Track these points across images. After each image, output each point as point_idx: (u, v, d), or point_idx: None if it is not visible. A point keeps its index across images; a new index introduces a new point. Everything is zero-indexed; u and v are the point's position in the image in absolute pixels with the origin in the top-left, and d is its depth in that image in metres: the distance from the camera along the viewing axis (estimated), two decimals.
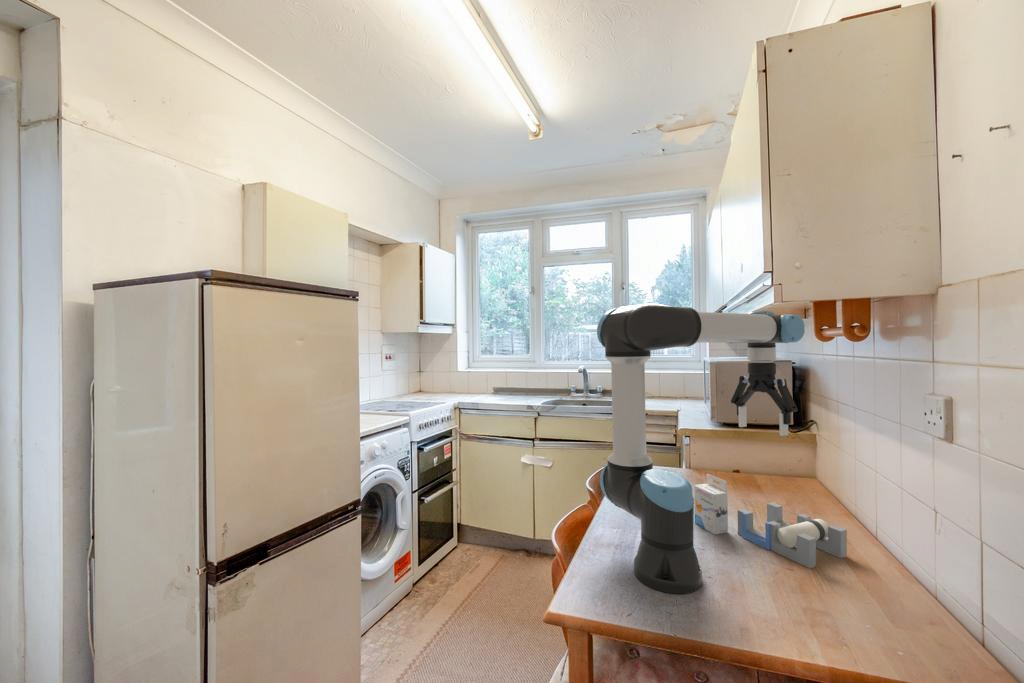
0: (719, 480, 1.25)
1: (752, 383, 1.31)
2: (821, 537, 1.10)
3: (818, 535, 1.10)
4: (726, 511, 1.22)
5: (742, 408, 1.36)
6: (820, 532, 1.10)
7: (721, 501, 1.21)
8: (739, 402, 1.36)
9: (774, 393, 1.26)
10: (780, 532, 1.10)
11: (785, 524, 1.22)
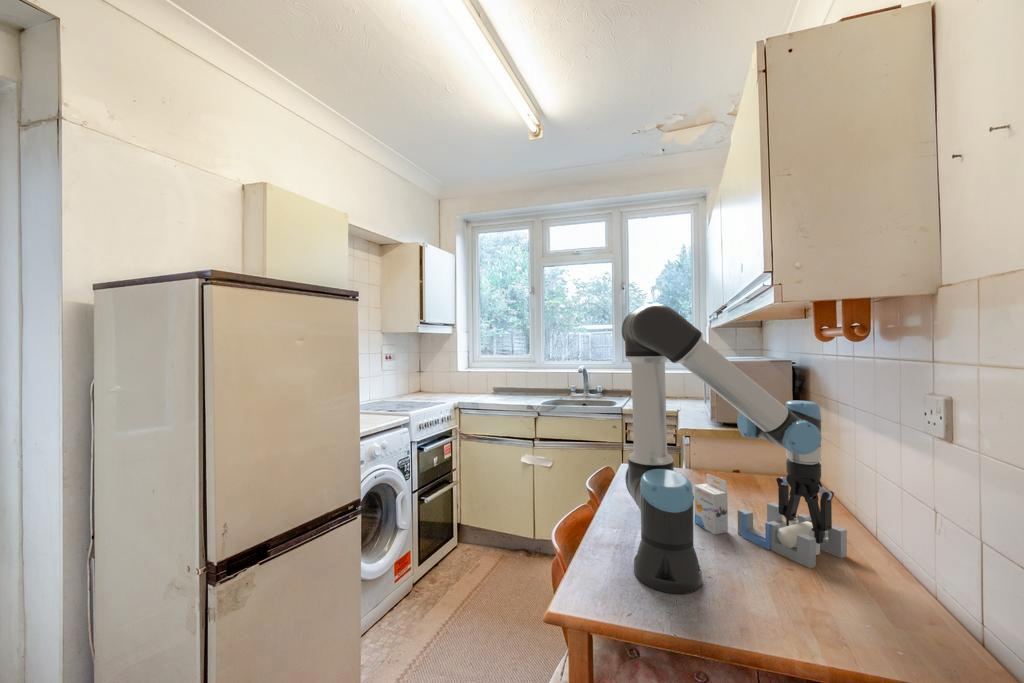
0: (719, 480, 1.25)
1: (793, 486, 1.12)
2: None
3: None
4: (726, 511, 1.22)
5: (793, 523, 1.13)
6: None
7: (721, 501, 1.21)
8: (788, 514, 1.14)
9: (813, 504, 1.08)
10: (780, 532, 1.10)
11: (785, 524, 1.22)
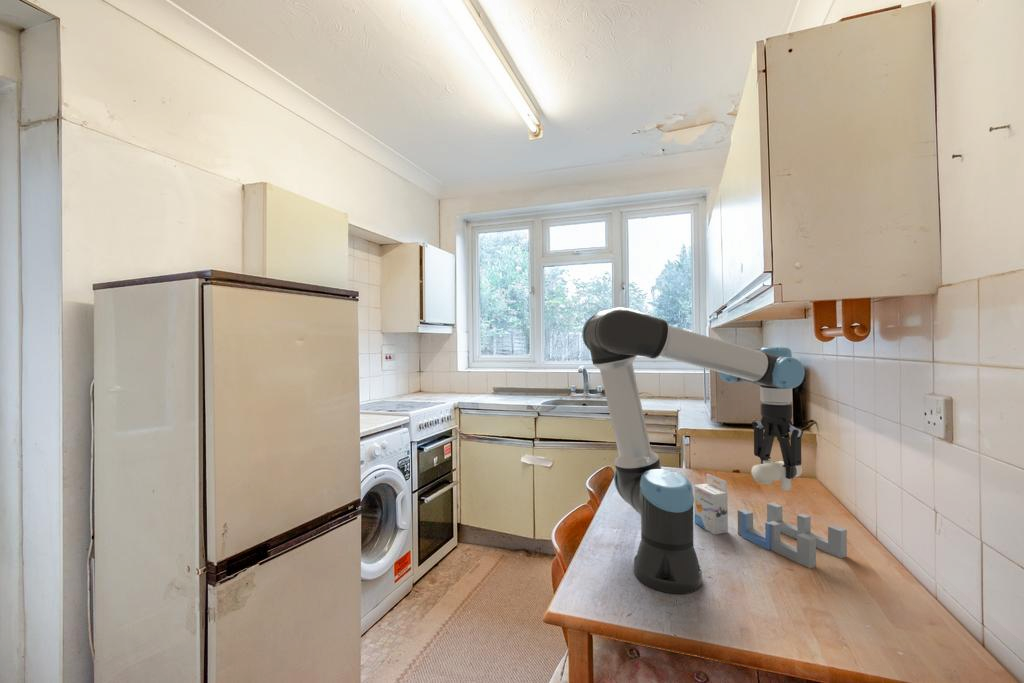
0: (719, 480, 1.25)
1: (766, 427, 1.19)
2: (793, 474, 1.17)
3: None
4: (726, 511, 1.22)
5: None
6: None
7: (721, 501, 1.21)
8: (762, 454, 1.20)
9: (784, 442, 1.15)
10: (754, 469, 1.17)
11: (785, 524, 1.22)
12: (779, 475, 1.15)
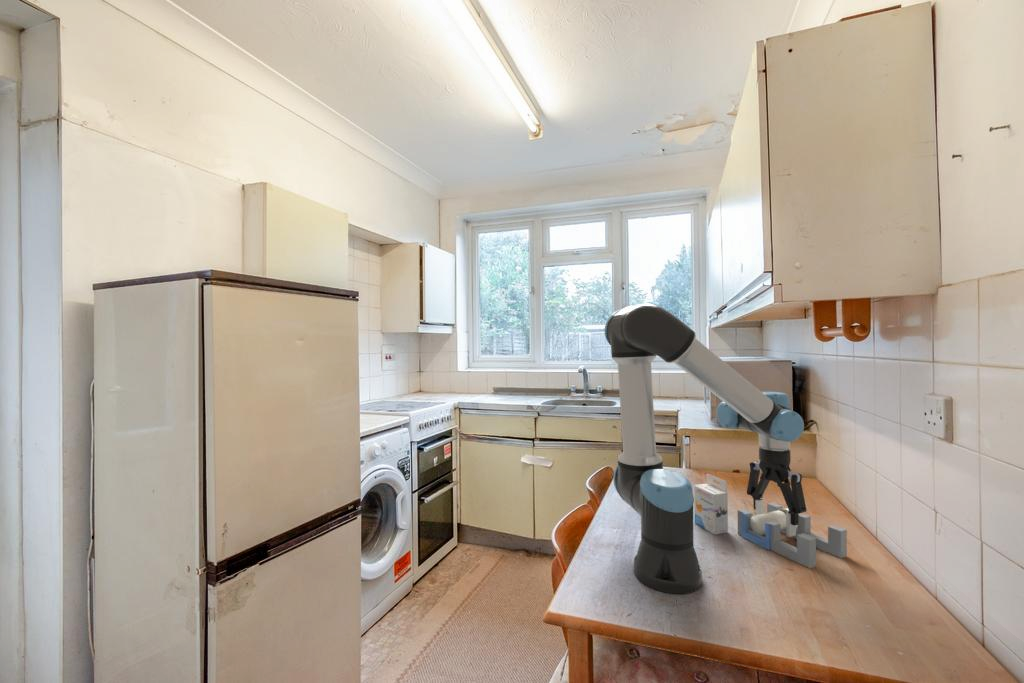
0: (719, 480, 1.25)
1: (764, 471, 1.19)
2: None
3: None
4: (726, 511, 1.22)
5: (759, 502, 1.22)
6: None
7: (721, 501, 1.21)
8: (755, 494, 1.23)
9: (785, 487, 1.15)
10: (752, 520, 1.17)
11: None
12: None
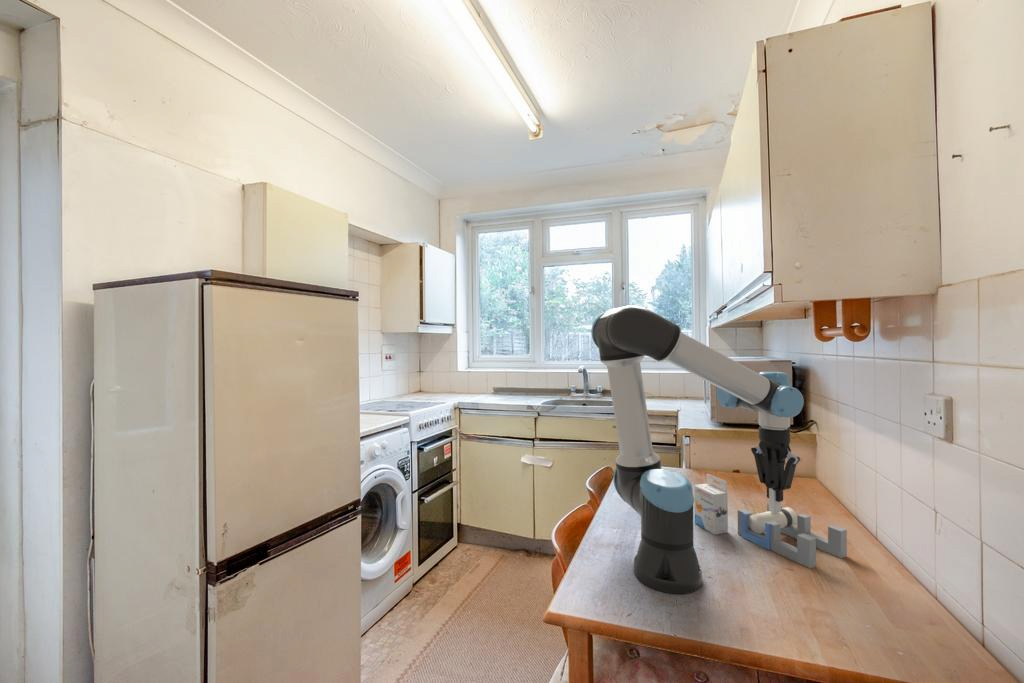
0: (719, 480, 1.25)
1: (765, 451, 1.19)
2: (789, 522, 1.18)
3: (785, 520, 1.18)
4: (726, 511, 1.22)
5: None
6: (787, 517, 1.18)
7: (721, 501, 1.21)
8: (768, 481, 1.19)
9: (779, 467, 1.17)
10: (750, 520, 1.18)
11: None
12: None
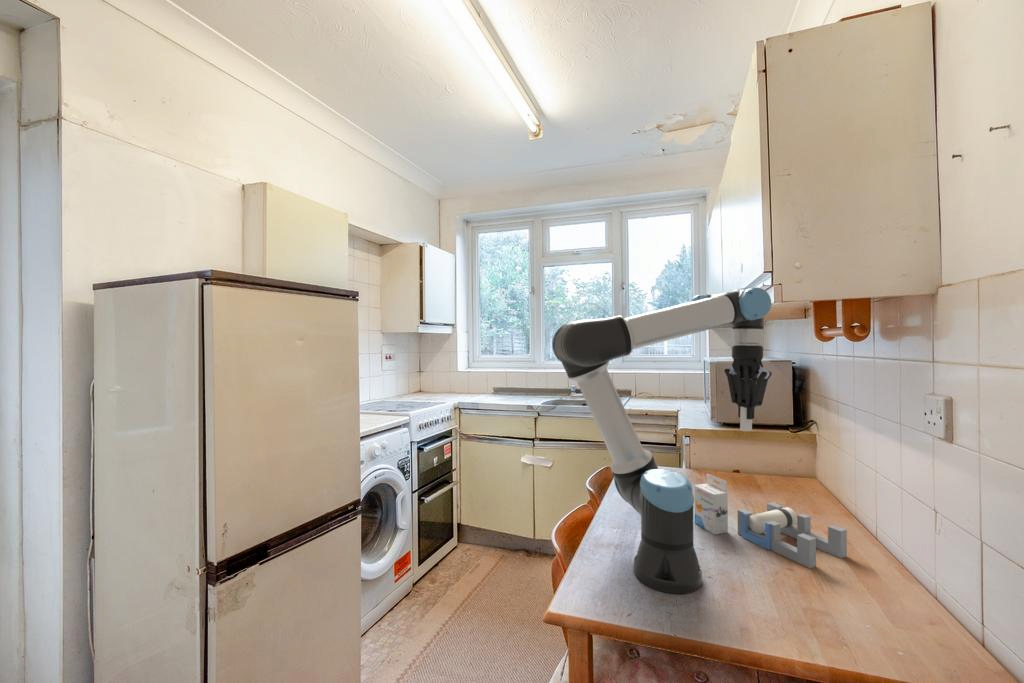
0: (719, 480, 1.25)
1: (737, 369, 1.17)
2: (789, 522, 1.18)
3: (785, 520, 1.18)
4: (726, 511, 1.22)
5: None
6: (787, 517, 1.18)
7: (721, 501, 1.21)
8: (739, 400, 1.17)
9: (751, 384, 1.15)
10: (750, 520, 1.18)
11: None
12: None
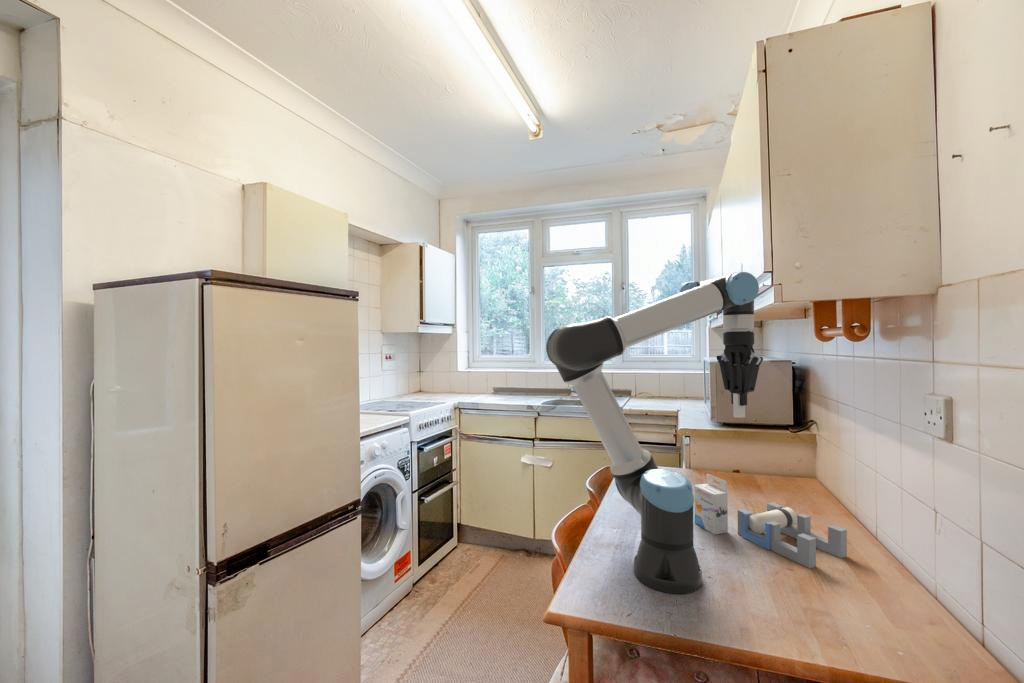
0: (719, 480, 1.25)
1: (729, 356, 1.17)
2: (789, 522, 1.18)
3: (785, 520, 1.18)
4: (726, 511, 1.22)
5: None
6: (787, 517, 1.18)
7: (721, 501, 1.21)
8: (732, 386, 1.17)
9: (743, 370, 1.14)
10: (750, 520, 1.18)
11: None
12: None
